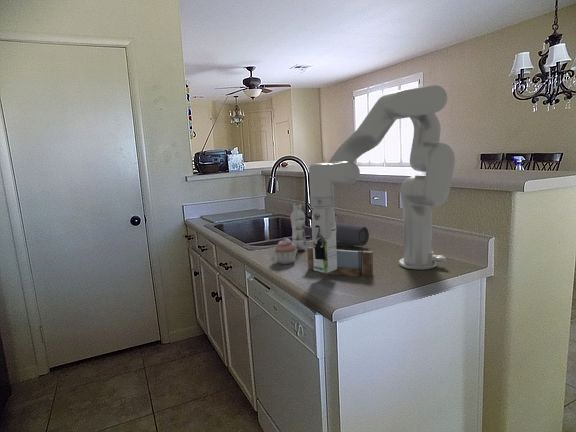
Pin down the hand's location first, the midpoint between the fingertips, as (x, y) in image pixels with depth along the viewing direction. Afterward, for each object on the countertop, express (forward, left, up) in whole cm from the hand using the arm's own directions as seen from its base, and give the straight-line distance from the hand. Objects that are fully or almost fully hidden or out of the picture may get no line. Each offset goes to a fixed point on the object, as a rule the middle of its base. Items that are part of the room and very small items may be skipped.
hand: (324, 255), depth 124 cm
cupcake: (+22, -13, -8) cm, 27 cm away
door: (-3, -8, -8) cm, 12 cm away
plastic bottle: (+25, -31, -8) cm, 41 cm away
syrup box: (0, 0, -5) cm, 5 cm away
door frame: (-2, -7, -8) cm, 11 cm away
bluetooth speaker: (+10, -44, -8) cm, 46 cm away
